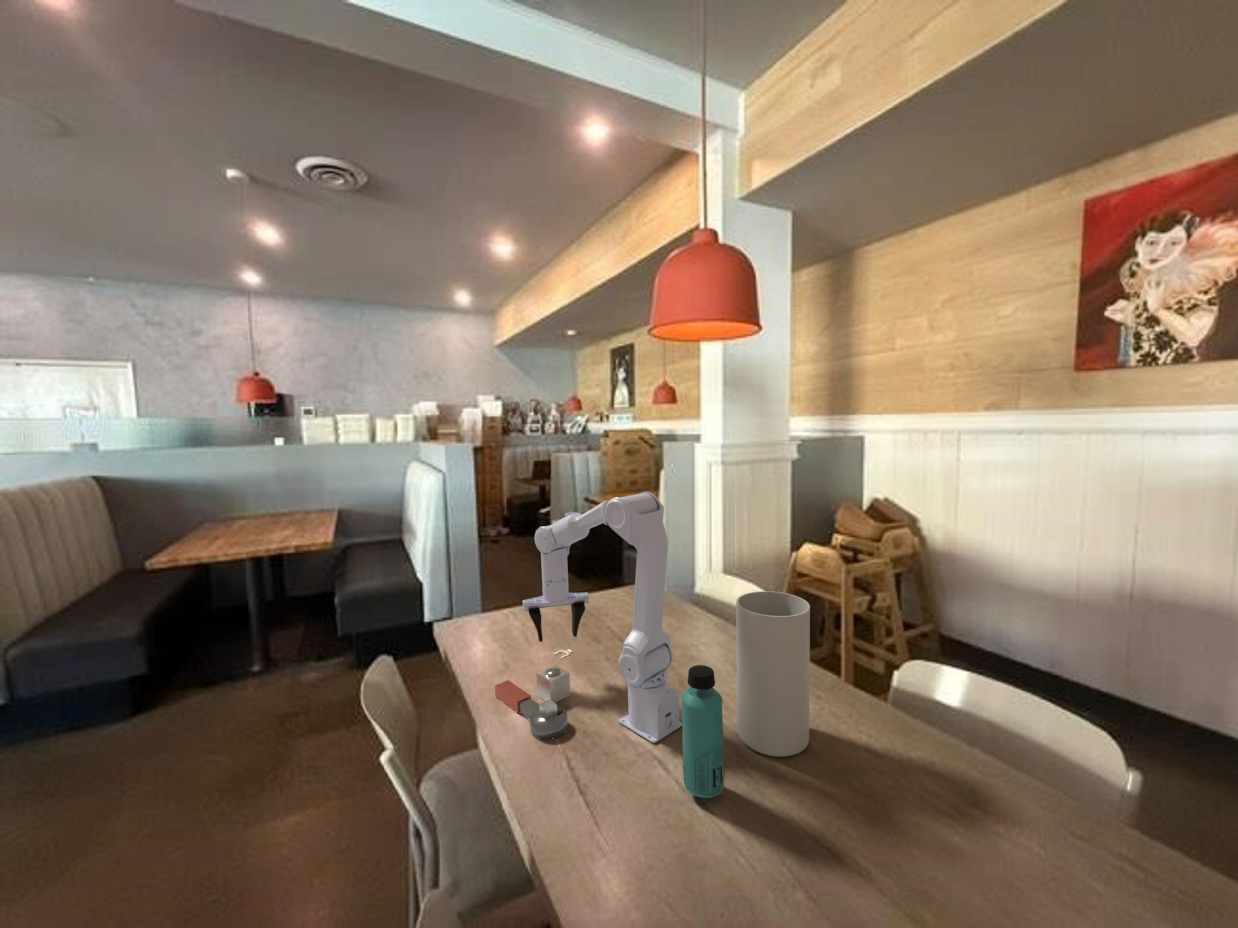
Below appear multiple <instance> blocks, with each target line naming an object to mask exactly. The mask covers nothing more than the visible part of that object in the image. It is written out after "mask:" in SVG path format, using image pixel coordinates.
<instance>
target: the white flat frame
mask: <svg viewBox="0 0 1238 928" xmlns="http://www.w3.org/2000/svg"><path fill="white" fill-rule="evenodd" d="M559 652H561V653H563V652H564V653H563V655H562V656H560V657H559V659H564V658H566V657H569V656H570V655H571V652H572V653H573V652H574V651H573V650H571V649H569V648H568V649H566V650H564V649H563V648H561V650H558V651H556V652H554V653H553V654H556V655H558V654H560V653H559ZM565 656H566V657H565Z"/></svg>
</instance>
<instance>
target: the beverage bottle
mask: <svg viewBox="0 0 1238 928" xmlns="http://www.w3.org/2000/svg"><path fill="white" fill-rule="evenodd" d="M687 672H688V674H687V684H688V686H690V687H689V688H687V689H686V690H684V692H683V693H682V695H681V698H680V699H681V720H682V721H681V723H682V726H681V727H682V737H681V742H682V750H681V753H682V755H681V757H682V758H681V761H682V766H681V767H682V777H683V778H682V781H683V784H684V786H685V788H686V790H687V791H688V792H689V793H690V794H692V796H695V797H698V798H702V799H711V798H715V797H716V796H717V797H718V796H719V795H720V794H721V793H722V791H723V789H724V787H725V777H726V776H725V775H726V774H725V773H726V771H725V770H726V769H725V763H726V762H725V759H724V756H725V753H724V747H725V746H724V719H723V697H722V695H721V694H720V693H719V692H718V691H717V689H715V688H714V687H715V685H716V679H715V671H714V669H713V668H711V667H710V666H707V665H703V664H696V665H692V666H691V667H690V668H689V669H688V671H687Z"/></svg>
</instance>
